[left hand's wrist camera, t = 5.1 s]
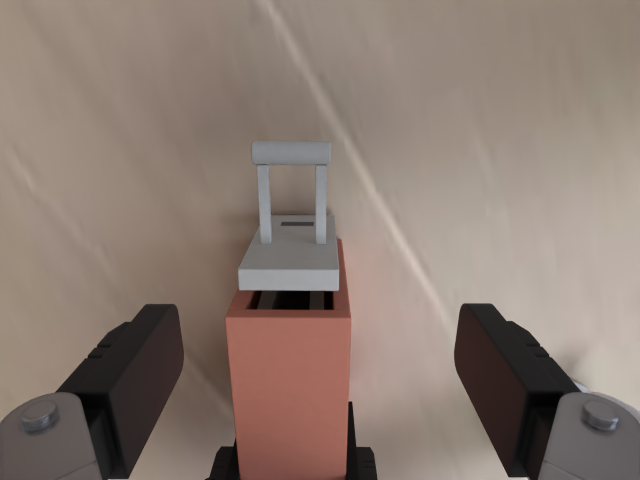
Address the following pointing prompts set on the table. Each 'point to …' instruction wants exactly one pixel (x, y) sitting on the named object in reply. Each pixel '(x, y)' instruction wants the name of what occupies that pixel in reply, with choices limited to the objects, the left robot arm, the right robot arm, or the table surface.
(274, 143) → the drawer
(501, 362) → the left robot arm
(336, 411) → the cabinet
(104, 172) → the table surface
